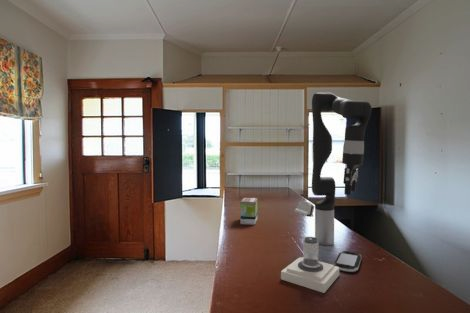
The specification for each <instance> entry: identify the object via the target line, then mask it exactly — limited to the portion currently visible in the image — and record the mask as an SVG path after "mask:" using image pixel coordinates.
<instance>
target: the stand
mask: <svg viewBox="0 0 470 313" xmlns="http://www.w3.org/2000/svg"><path fill="white" fill-rule="evenodd" d="M302 261H303V256H300V257H298V258H297V259H295V260H294V261H293V262H292V263H290V264H288V265H286V267H284V268H283V269H282V270H281V271H280V280H282V281H286V282H288V283H291V284H294V285H298V286H301V287H305V288H308V289H310V290H314V291H316V292H319V293H322V294H324V293H326V292H327V290H328V289H329V288H330V287H331V285H333V283H334V282H335V281H336V280H337V278H338V277H339V276H340V271H339V267H336V266H334V264H331V263H327V262H323V261H320V260H318V262H319V263H320V267H319V268H318V269H307V268H305V267H303V266H302Z"/></svg>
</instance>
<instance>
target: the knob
mask: <svg viewBox="0 0 470 313" xmlns="http://www.w3.org/2000/svg"><path fill="white" fill-rule="evenodd" d="M302 243H303V244H302V250H303V251H302V257H303V261H302V266H303V267H305V268H307V269H318V268H319V267H320V263H319V262H318V261H319V244H318V241H317V238H315V236H305V237H304V238H303V241H302Z"/></svg>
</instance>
